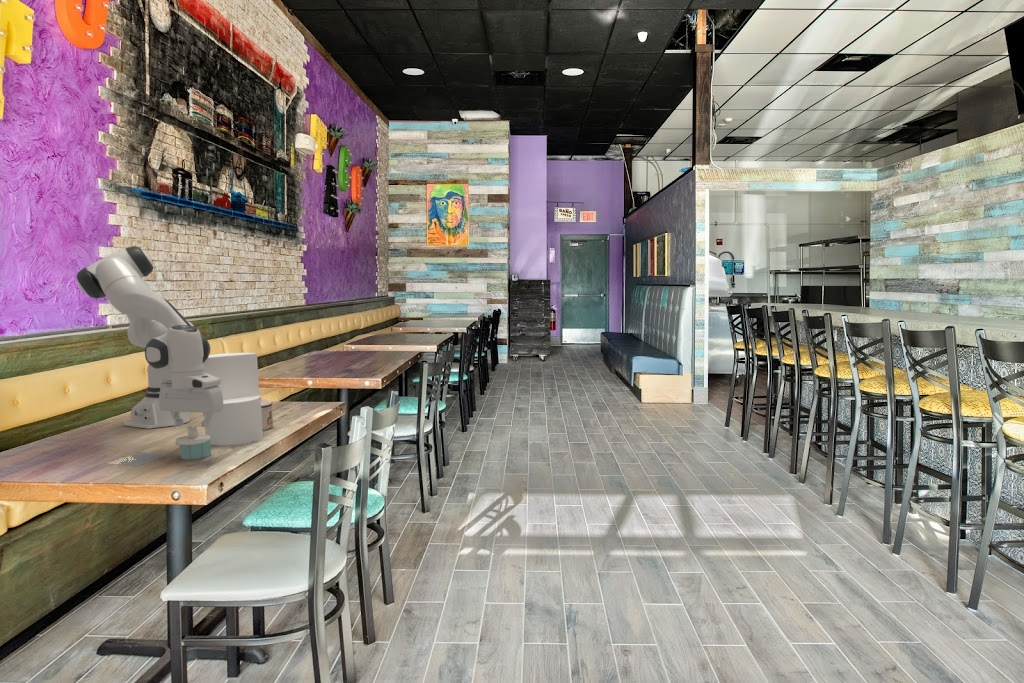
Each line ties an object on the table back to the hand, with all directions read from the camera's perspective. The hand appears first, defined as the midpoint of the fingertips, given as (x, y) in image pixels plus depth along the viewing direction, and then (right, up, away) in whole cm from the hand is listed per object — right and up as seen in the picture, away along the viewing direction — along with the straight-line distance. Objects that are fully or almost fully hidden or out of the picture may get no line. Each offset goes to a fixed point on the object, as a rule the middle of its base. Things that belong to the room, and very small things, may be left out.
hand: (192, 426), depth 181 cm
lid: (0, -4, 0) cm, 5 cm away
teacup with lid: (+4, -6, +38) cm, 38 cm away
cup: (0, -9, +2) cm, 10 cm away
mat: (-16, -10, 0) cm, 19 cm away
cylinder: (+3, -8, +22) cm, 23 cm away
